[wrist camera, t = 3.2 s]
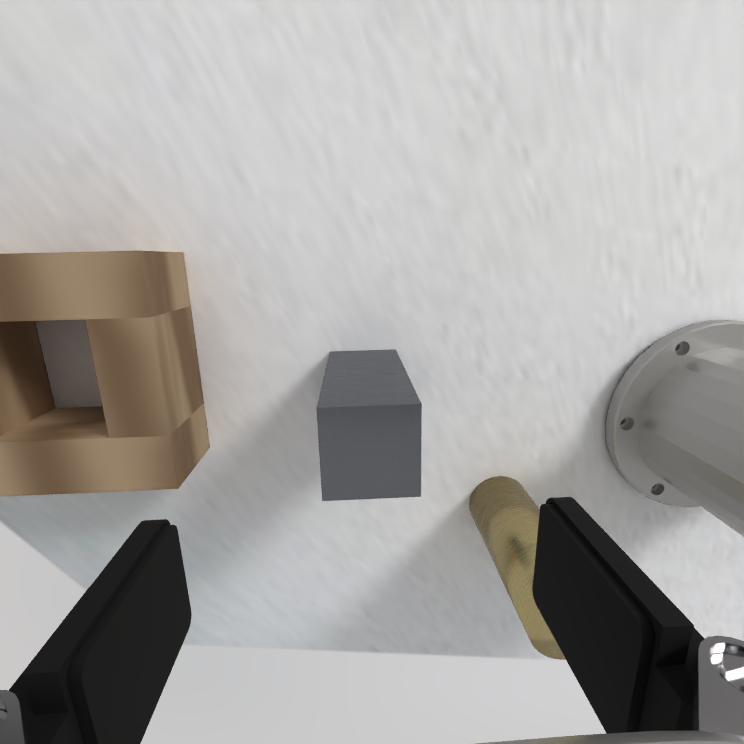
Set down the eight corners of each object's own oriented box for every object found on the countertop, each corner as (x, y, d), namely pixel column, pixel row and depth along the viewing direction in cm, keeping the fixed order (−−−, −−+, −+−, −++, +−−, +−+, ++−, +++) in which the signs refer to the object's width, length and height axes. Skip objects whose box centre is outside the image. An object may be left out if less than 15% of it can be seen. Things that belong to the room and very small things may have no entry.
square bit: (395, 349, 26) (421, 403, 16) (396, 410, 27) (420, 496, 17) (330, 351, 25) (316, 407, 16) (333, 413, 27) (322, 500, 17)
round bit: (528, 475, 28) (619, 586, 19) (524, 526, 29) (608, 657, 20) (470, 477, 28) (531, 591, 18) (468, 529, 29) (525, 661, 20)
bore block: (183, 252, 24) (139, 250, 19) (209, 447, 27) (178, 488, 22) (-37, 257, 23) (-139, 257, 18) (16, 454, 26) (-59, 498, 21)
